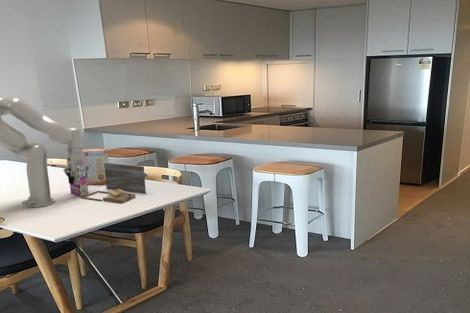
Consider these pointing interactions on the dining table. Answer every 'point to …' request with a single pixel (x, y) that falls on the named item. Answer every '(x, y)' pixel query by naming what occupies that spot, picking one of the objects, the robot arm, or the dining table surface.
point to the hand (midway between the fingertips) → (78, 181)
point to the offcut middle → (117, 198)
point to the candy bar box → (79, 182)
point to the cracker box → (96, 166)
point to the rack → (122, 181)
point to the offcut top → (117, 193)
